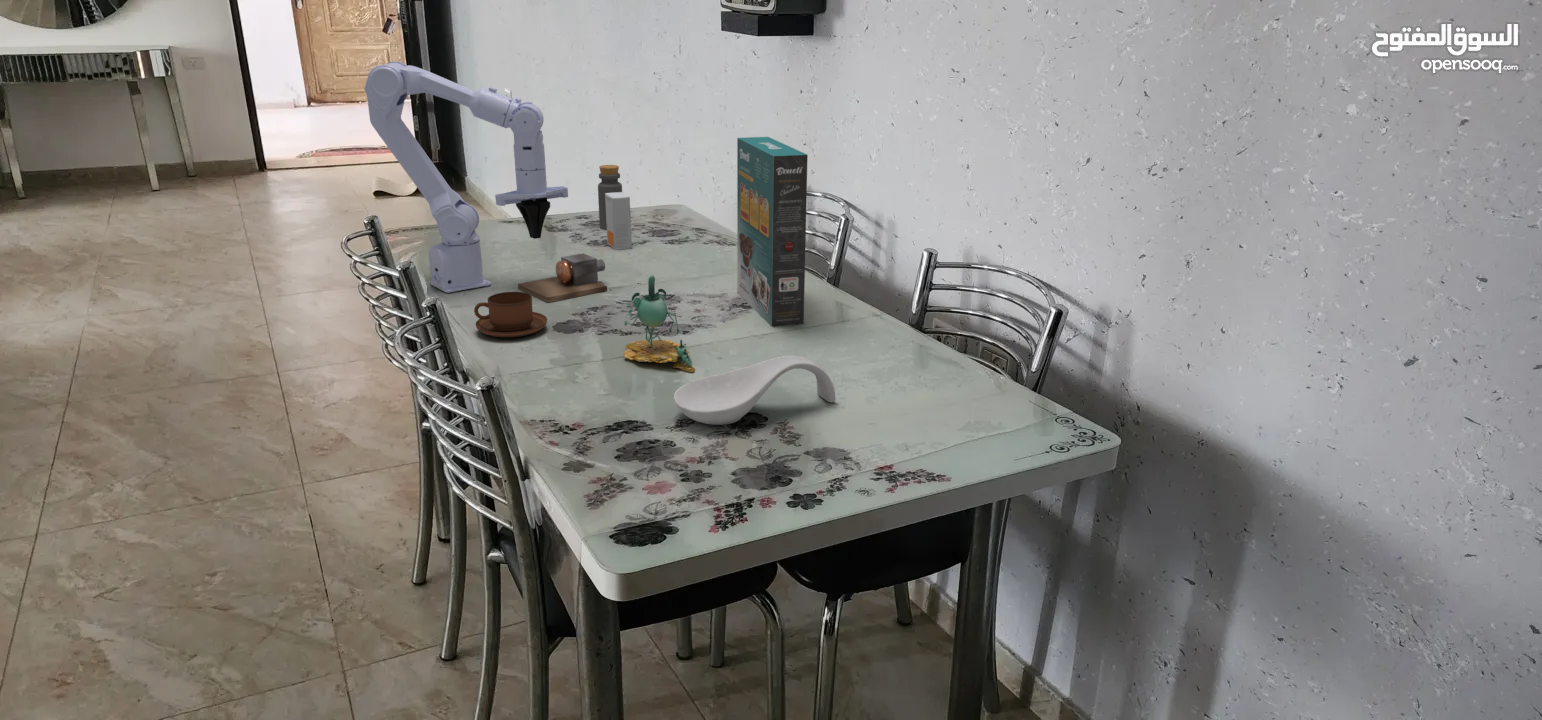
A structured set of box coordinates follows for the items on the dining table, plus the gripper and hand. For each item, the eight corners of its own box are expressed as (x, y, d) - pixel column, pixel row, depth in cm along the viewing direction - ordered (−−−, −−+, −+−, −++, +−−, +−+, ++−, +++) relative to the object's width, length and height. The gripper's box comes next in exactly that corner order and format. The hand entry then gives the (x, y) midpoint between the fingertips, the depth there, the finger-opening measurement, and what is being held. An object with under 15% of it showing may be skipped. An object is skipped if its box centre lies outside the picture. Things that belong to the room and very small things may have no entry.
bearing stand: (547, 302, 191) (545, 273, 189) (518, 288, 200) (515, 260, 198) (607, 290, 199) (605, 262, 197) (576, 277, 207) (574, 250, 205)
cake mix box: (803, 323, 181) (807, 154, 170) (771, 326, 179) (773, 156, 169) (766, 290, 200) (768, 136, 190) (737, 292, 199) (737, 137, 188)
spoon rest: (691, 441, 135) (690, 391, 132) (662, 409, 145) (661, 362, 142) (847, 412, 144) (849, 365, 142) (810, 384, 154) (811, 340, 151)
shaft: (567, 285, 197) (566, 263, 196) (556, 280, 200) (555, 259, 199) (608, 277, 203) (607, 256, 201) (596, 273, 206) (595, 252, 204)
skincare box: (606, 244, 234) (604, 192, 230) (624, 242, 236) (622, 191, 232) (614, 250, 229) (612, 197, 225) (632, 248, 231) (630, 196, 226)
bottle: (621, 229, 248) (619, 168, 243) (597, 229, 248) (594, 168, 243) (625, 224, 253) (623, 164, 248) (602, 224, 253) (599, 164, 248)
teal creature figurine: (652, 382, 154) (643, 287, 150) (608, 359, 169) (599, 271, 165) (708, 370, 158) (701, 277, 154) (660, 349, 174) (653, 263, 170)
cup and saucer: (481, 346, 168) (478, 311, 166) (472, 325, 179) (469, 291, 177) (553, 338, 173) (551, 303, 170) (541, 318, 183) (538, 285, 181)
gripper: (505, 175, 188) (510, 246, 193) (574, 167, 197) (578, 235, 201) (488, 170, 193) (494, 239, 198) (556, 162, 202) (560, 229, 207)
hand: (535, 237), depth 200 cm, fingers closed
